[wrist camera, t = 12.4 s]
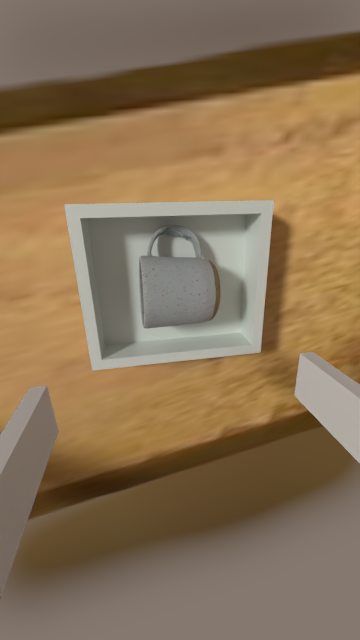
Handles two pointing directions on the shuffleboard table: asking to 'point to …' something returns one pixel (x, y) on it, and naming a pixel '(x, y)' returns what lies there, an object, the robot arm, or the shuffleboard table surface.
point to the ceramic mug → (177, 285)
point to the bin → (133, 240)
